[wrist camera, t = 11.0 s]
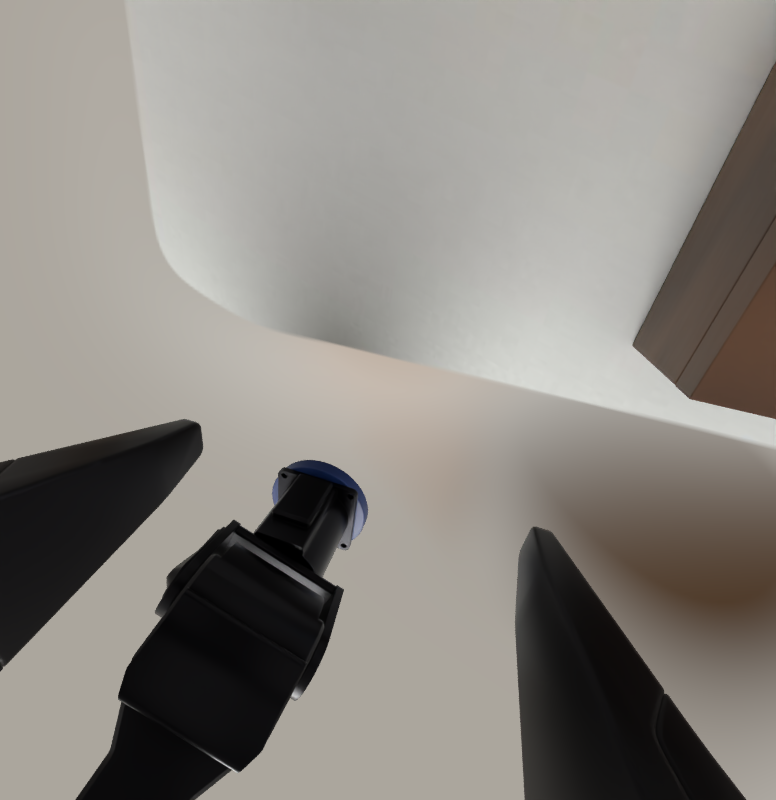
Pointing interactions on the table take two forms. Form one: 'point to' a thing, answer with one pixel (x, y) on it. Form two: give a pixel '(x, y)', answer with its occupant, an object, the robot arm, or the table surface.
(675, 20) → the table surface
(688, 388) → the dark wooden block
